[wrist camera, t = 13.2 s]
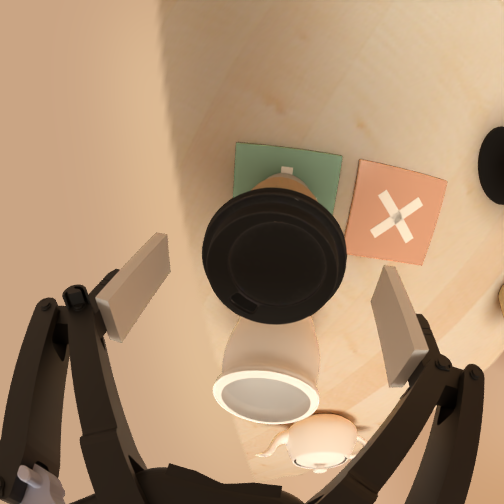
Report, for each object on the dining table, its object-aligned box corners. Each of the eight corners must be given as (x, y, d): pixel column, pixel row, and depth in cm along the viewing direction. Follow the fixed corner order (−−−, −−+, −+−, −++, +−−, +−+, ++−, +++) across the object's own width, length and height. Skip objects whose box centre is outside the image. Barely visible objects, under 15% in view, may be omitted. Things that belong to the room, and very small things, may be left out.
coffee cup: (236, 230, 32) (193, 317, 19) (246, 148, 28) (196, 184, 15) (318, 245, 31) (326, 342, 18) (336, 165, 27) (371, 217, 14)
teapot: (383, 409, 47) (389, 458, 36) (356, 439, 54) (357, 480, 43) (266, 400, 49) (257, 454, 38) (257, 431, 56) (249, 475, 46)
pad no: (359, 159, 27) (361, 160, 26) (445, 180, 26) (447, 181, 25) (341, 251, 32) (341, 253, 31) (420, 263, 31) (422, 266, 30)
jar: (228, 314, 39) (198, 402, 26) (263, 261, 34) (240, 355, 21) (291, 345, 40) (282, 433, 27) (333, 300, 35) (342, 396, 22)
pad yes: (237, 142, 28) (235, 143, 27) (341, 155, 27) (342, 156, 26) (232, 235, 33) (230, 238, 33) (324, 248, 32) (325, 251, 32)
